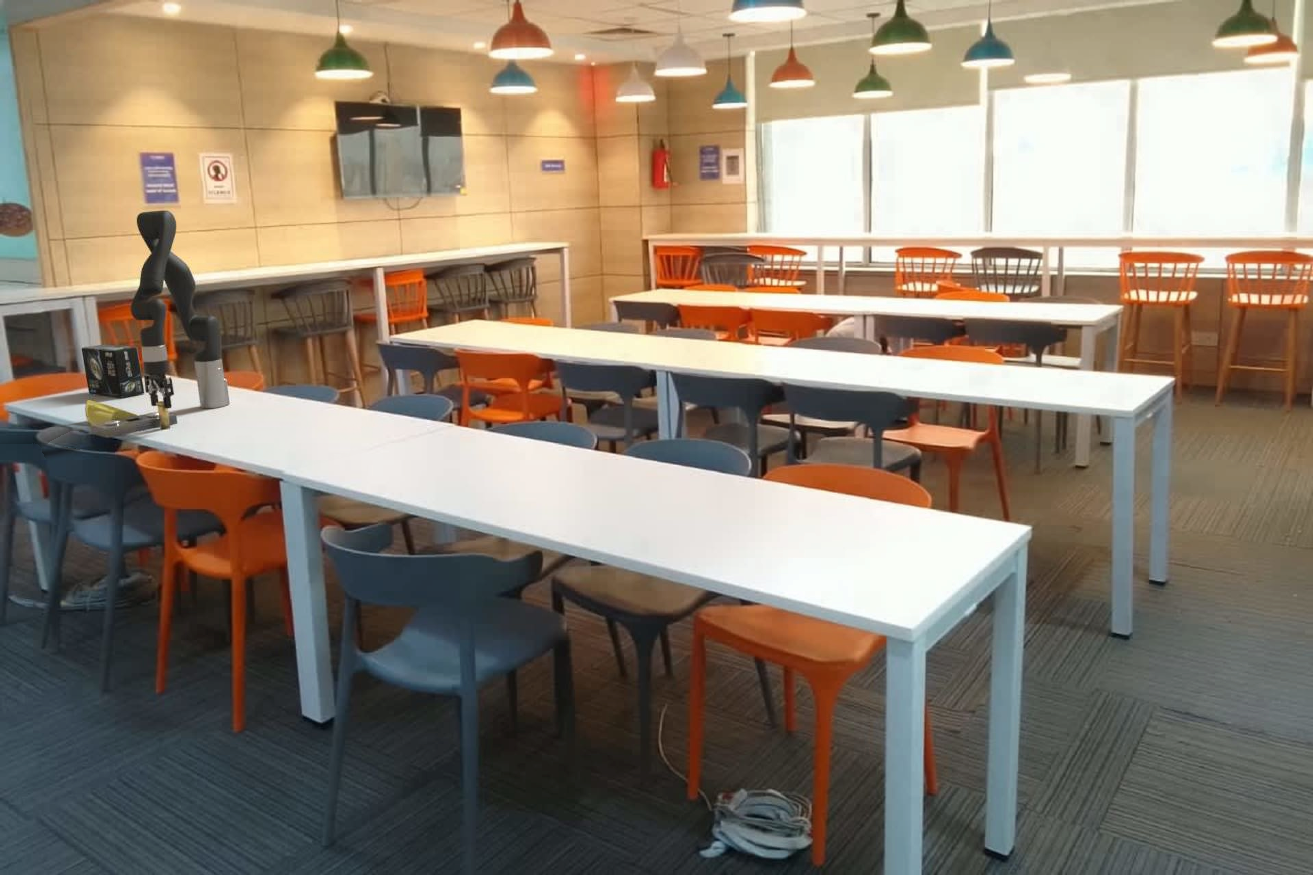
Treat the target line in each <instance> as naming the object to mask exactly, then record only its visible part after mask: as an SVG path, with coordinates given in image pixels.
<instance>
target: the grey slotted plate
mask: <svg viewBox="0 0 1313 875" xmlns="http://www.w3.org/2000/svg"><path fill="white" fill-rule="evenodd" d="M137 415H138V414H137ZM169 421H170V426H172V425H176V424H178V418H177V414H173V413H169ZM156 428H161V427H160V420H159V413H158V411H156V412H148V413H144V414H139V415H138V416H133V417H128V418H123V419H118V420H111V421H106V422H102V423H97V424H91V423H90V424H89V431H90V434H91V435H94V436H99V437H102V438H106V439H108V438H113V437H118V436H122V435H123V436H124V435H128V434H132V433H136V432H137V431H138V432H142V431H146V430H147V429H148V430H151V429H152V430H153V429H156ZM148 430H147V431H148Z"/></svg>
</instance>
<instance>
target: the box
mask: <svg viewBox="0 0 1313 875" xmlns="http://www.w3.org/2000/svg"><path fill="white" fill-rule="evenodd" d="M81 353H82V361H83V365H84V366H83V367H84V372H85V373H84V374H85V379H86V382H87V389H88V393H89V394H90V395H93V394H95V395H94V396H101V397H102V396H103V397H111V398H119V399H123V398H124V399H125V398H129V397H134V396H139V395H143V394H145V388H144V387H145V386H144V380H143V377H142V376H143V375H142V369H141V363H140V355H139V350H138V347H136V346H128V345H127V346H126V345H125V346H124V345H114V344H113V345H112V344H98V345H91V346H85V347H81Z"/></svg>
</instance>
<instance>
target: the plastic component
mask: <svg viewBox="0 0 1313 875" xmlns="http://www.w3.org/2000/svg"><path fill="white" fill-rule="evenodd" d="M84 409H85V410H84V411H85V417H86V419H87V421H88V422H89V424H90V425H91V424H97V423H102V422H106V421H111V420H118V419H123V418H128V417H133V416H138V414H136V413H133V412H129V411H126V410H123V409H121V408H118V407H114V406H112V405H108V404H104V403H101V402H97V401H94V400H91V399H90V400H89V399H88V400H86V402H85V408H84Z"/></svg>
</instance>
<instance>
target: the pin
mask: <svg viewBox="0 0 1313 875" xmlns="http://www.w3.org/2000/svg"><path fill="white" fill-rule="evenodd" d="M156 405H157V406H156V407H157V412H158V413H159V420H160V427H159V428H160V429H161V430H169V429H171V425H170V421H169V414H170V413H169V408H168V409H165V408H164V402H163V400H158V402H156Z"/></svg>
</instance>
